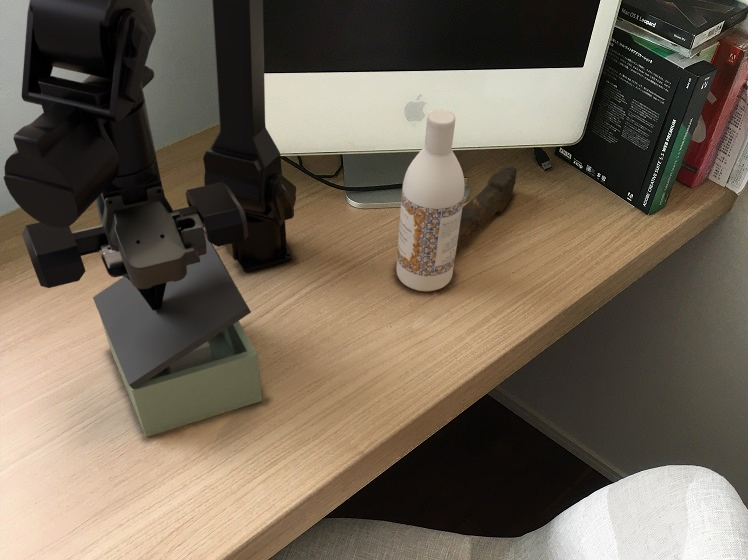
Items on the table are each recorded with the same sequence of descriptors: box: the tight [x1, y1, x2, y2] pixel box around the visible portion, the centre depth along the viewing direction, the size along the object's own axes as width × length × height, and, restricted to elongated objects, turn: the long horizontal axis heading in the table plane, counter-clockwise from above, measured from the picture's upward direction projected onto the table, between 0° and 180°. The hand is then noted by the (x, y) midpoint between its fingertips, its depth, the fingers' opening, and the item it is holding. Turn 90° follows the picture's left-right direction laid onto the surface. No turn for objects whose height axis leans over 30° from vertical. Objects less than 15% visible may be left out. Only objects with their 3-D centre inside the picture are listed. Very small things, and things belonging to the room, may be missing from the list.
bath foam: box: [395, 108, 465, 292], centre depth 89 cm, size 7×7×20 cm
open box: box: [99, 315, 263, 438], centre depth 82 cm, size 13×14×7 cm
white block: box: [166, 341, 213, 374], centre depth 83 cm, size 4×4×4 cm
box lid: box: [92, 229, 252, 389], centre depth 77 cm, size 13×14×1 cm
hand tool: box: [456, 165, 517, 254], centre depth 101 cm, size 19×4×5 cm, turn 143°
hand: (155, 307), depth 77 cm, fingers closed
